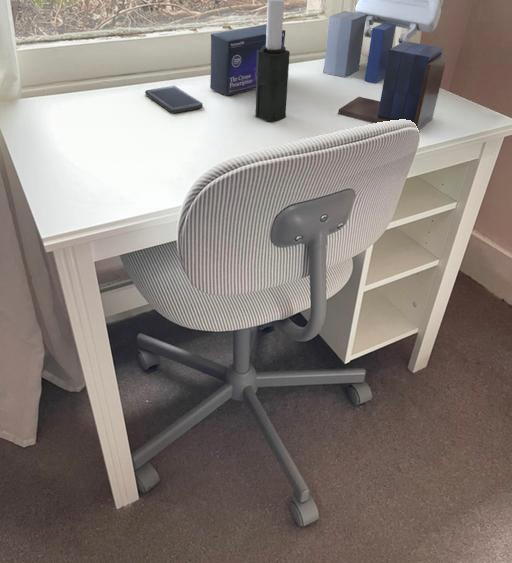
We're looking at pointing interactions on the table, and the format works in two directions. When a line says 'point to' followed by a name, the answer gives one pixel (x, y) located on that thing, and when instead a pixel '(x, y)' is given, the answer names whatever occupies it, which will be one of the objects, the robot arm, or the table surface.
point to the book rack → (404, 86)
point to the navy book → (379, 51)
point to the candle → (272, 68)
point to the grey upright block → (344, 43)
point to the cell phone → (173, 99)
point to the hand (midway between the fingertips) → (384, 39)
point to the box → (236, 58)
